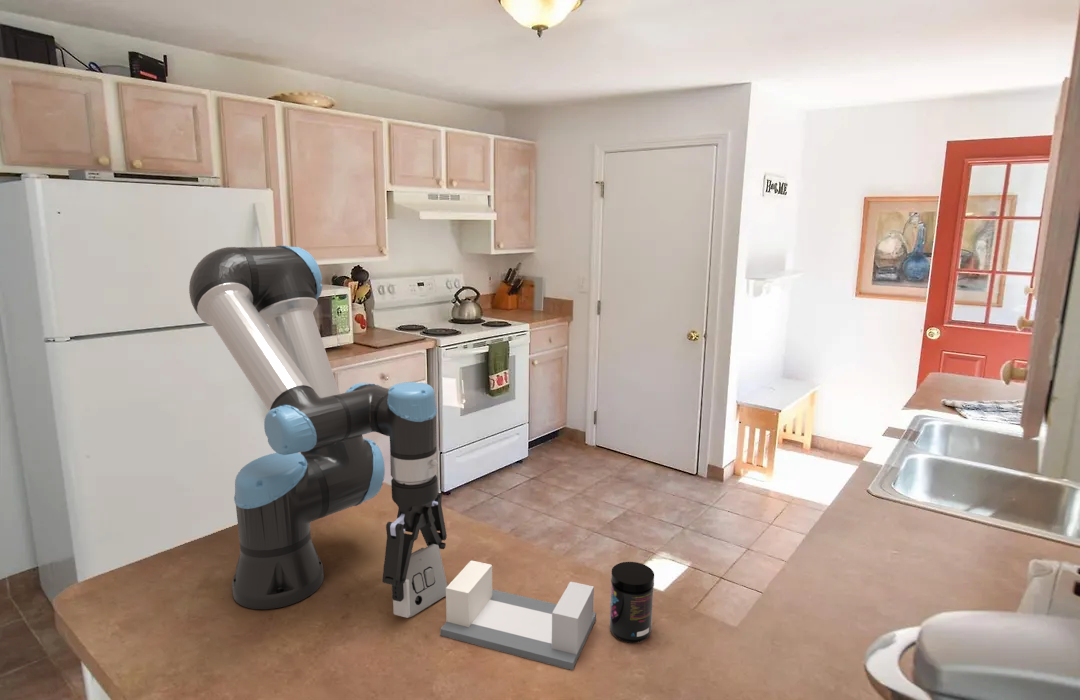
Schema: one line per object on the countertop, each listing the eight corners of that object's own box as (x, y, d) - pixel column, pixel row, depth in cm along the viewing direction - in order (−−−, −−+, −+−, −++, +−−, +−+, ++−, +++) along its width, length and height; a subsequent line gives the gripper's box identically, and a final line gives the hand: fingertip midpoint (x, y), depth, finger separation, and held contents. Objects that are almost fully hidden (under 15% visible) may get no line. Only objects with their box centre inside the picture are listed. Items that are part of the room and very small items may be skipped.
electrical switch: (408, 620, 103) (402, 567, 102) (388, 611, 106) (383, 559, 105) (449, 595, 110) (445, 545, 109) (430, 587, 113) (425, 538, 112)
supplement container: (630, 613, 106) (632, 557, 103) (660, 634, 100) (663, 575, 98) (600, 628, 102) (602, 570, 100) (630, 651, 96) (632, 589, 94)
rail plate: (440, 635, 99) (439, 594, 98) (476, 591, 111) (476, 554, 110) (572, 670, 92) (573, 626, 90) (595, 619, 104) (597, 580, 102)
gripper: (396, 507, 92) (401, 642, 96) (465, 456, 112) (466, 570, 117) (354, 499, 95) (360, 631, 99) (428, 451, 115) (431, 562, 119)
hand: (417, 598), depth 108 cm, fingers closed on electrical switch, 9 cm apart
